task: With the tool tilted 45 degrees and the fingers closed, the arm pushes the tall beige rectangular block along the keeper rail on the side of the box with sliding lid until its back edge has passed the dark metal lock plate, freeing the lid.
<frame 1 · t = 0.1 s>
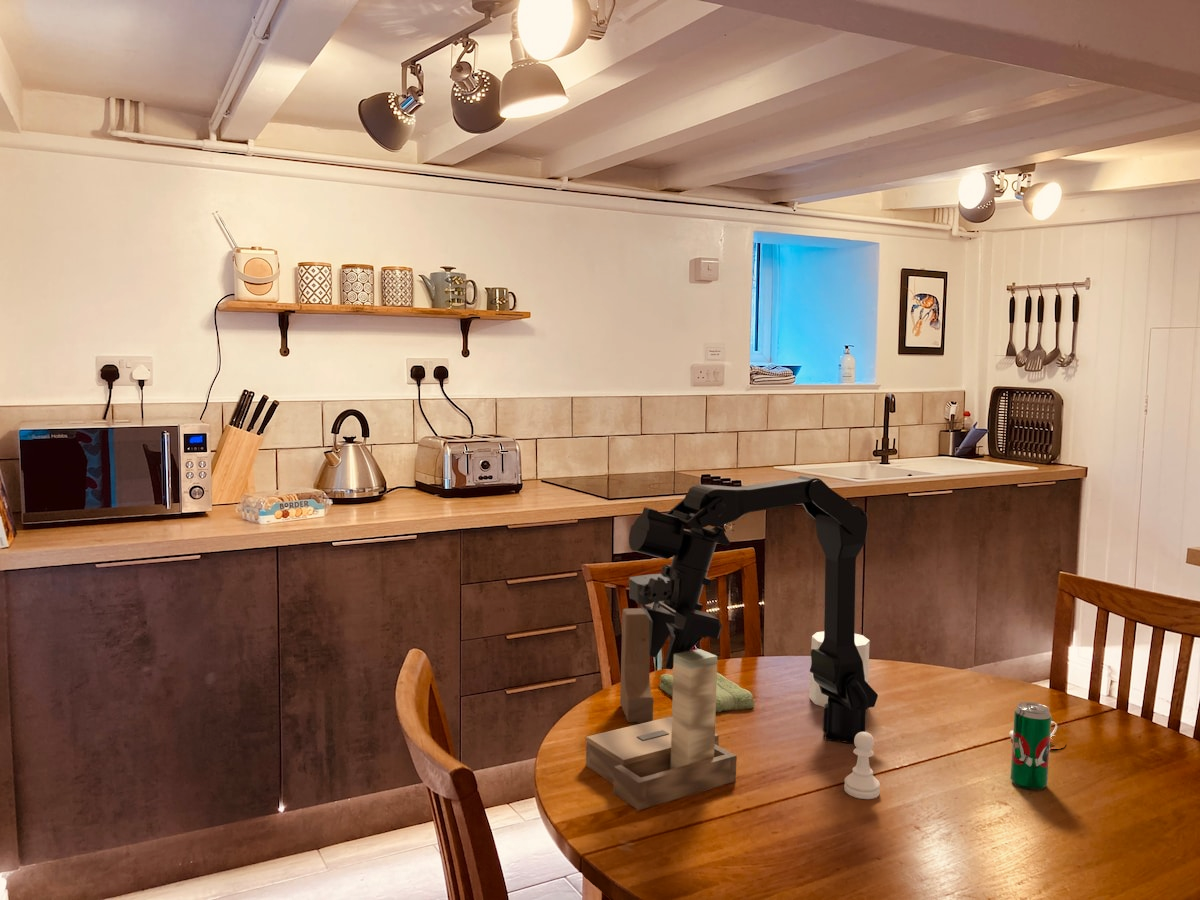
hand: (660, 662, 144), 16 cm above the table, tool tilted 15°, fingers open, 5 cm apart
wooden block: (636, 714, 167), on the table
tall beige rectangular block: (693, 716, 139), point 10 cm above the table, slide at 0.3 cm, touching gripper
soda can: (1028, 785, 141), on the table
teacup and saucer: (1022, 738, 161), on the table
box with sliding lid: (652, 764, 146), on the table
toilet paper: (837, 702, 175), on the table
washcloth: (704, 699, 176), on the table
chess pawn: (861, 793, 138), on the table
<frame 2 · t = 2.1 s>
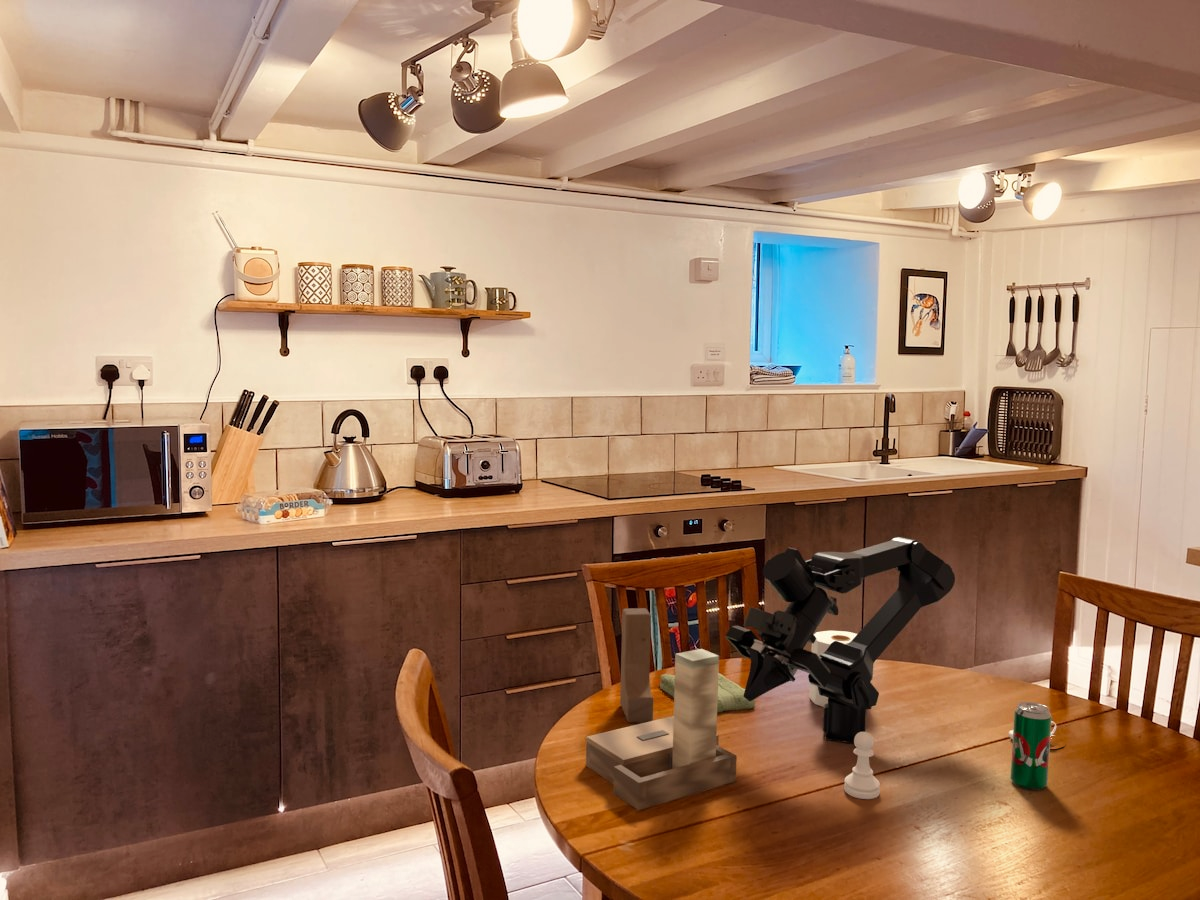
hand: (746, 699, 145), 11 cm above the table, tool tilted 45°, fingers closed
tall beige rectangular block: (695, 716, 140), point 10 cm above the table, slide at 0.0 cm
everything else where it was.
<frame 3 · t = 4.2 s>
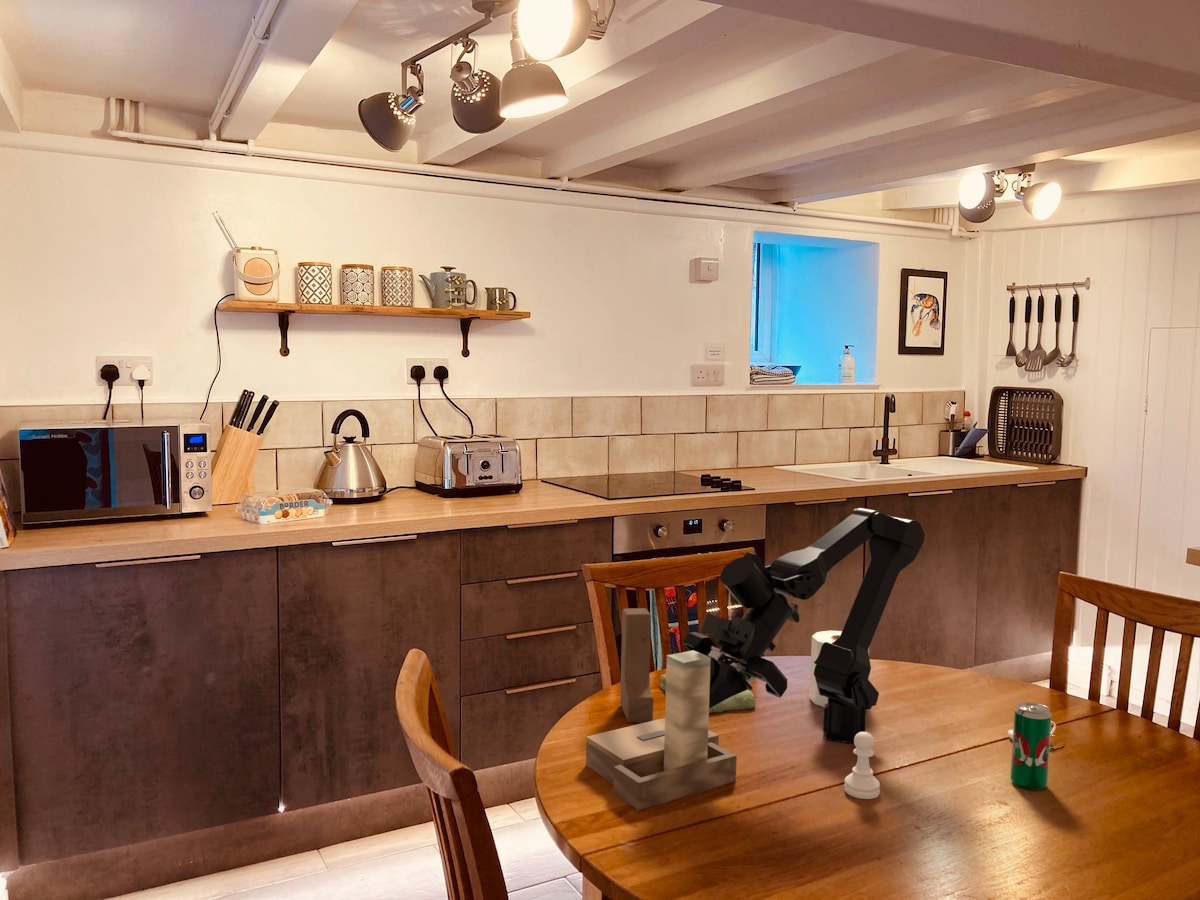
hand: (701, 708, 140), 11 cm above the table, tool tilted 45°, fingers closed, pressing on tall beige rectangular block
tall beige rectangular block: (686, 718, 139), point 10 cm above the table, slide at 1.6 cm, touching gripper
everything else where it was.
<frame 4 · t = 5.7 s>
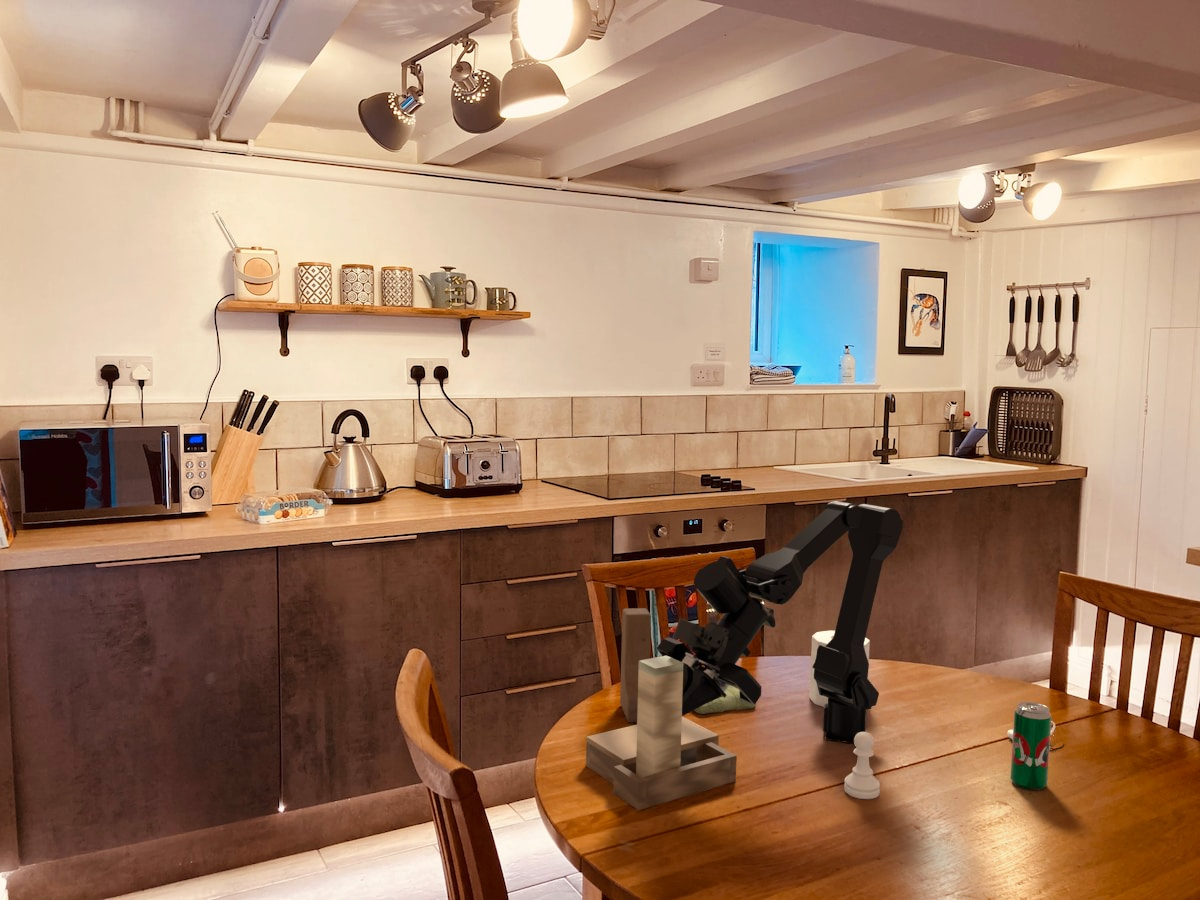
hand: (674, 716, 137), 11 cm above the table, tool tilted 45°, fingers closed, pressing on tall beige rectangular block
tall beige rectangular block: (659, 725, 136), point 10 cm above the table, slide at 6.7 cm, touching gripper
everything else where it was.
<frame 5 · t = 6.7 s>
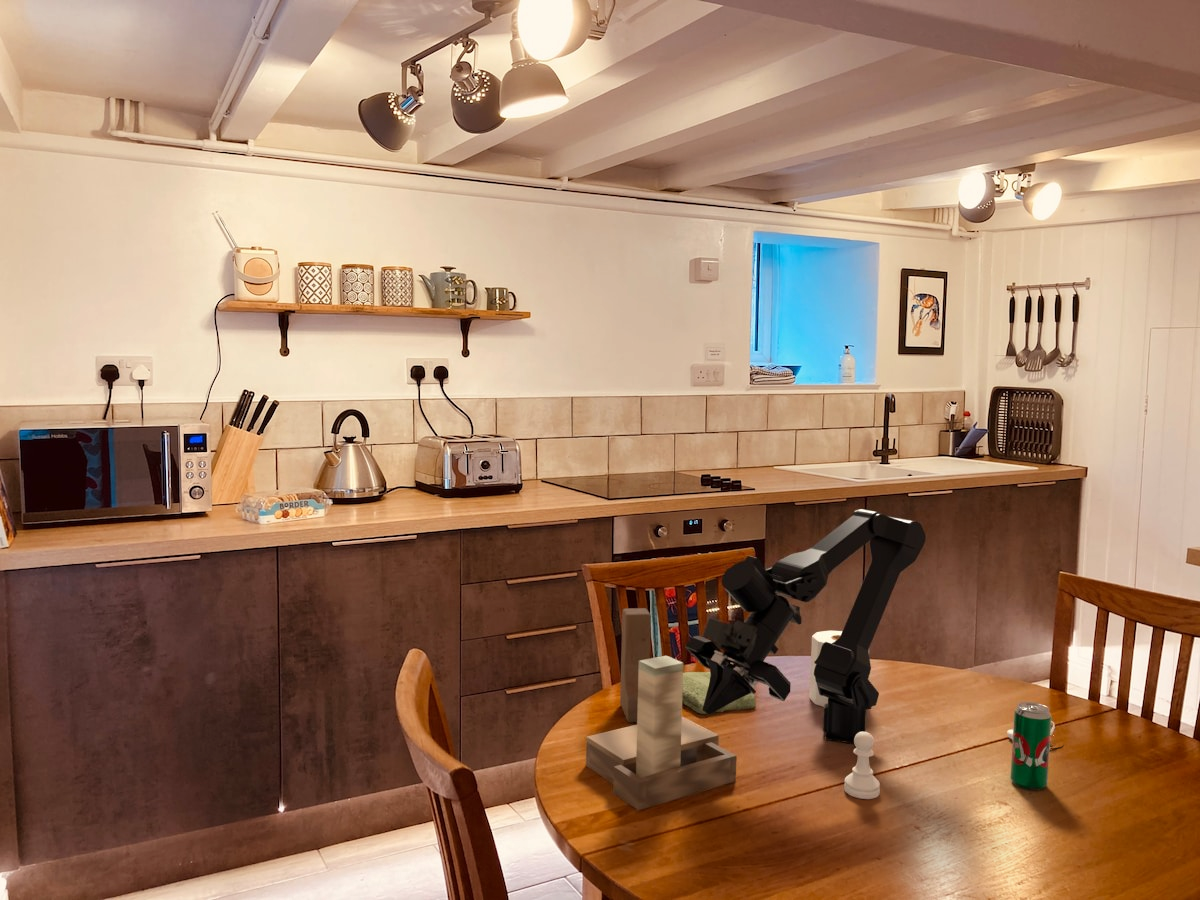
hand: (705, 712, 141), 10 cm above the table, tool tilted 45°, fingers closed
tall beige rectangular block: (659, 725, 136), point 10 cm above the table, slide at 6.7 cm
everything else where it was.
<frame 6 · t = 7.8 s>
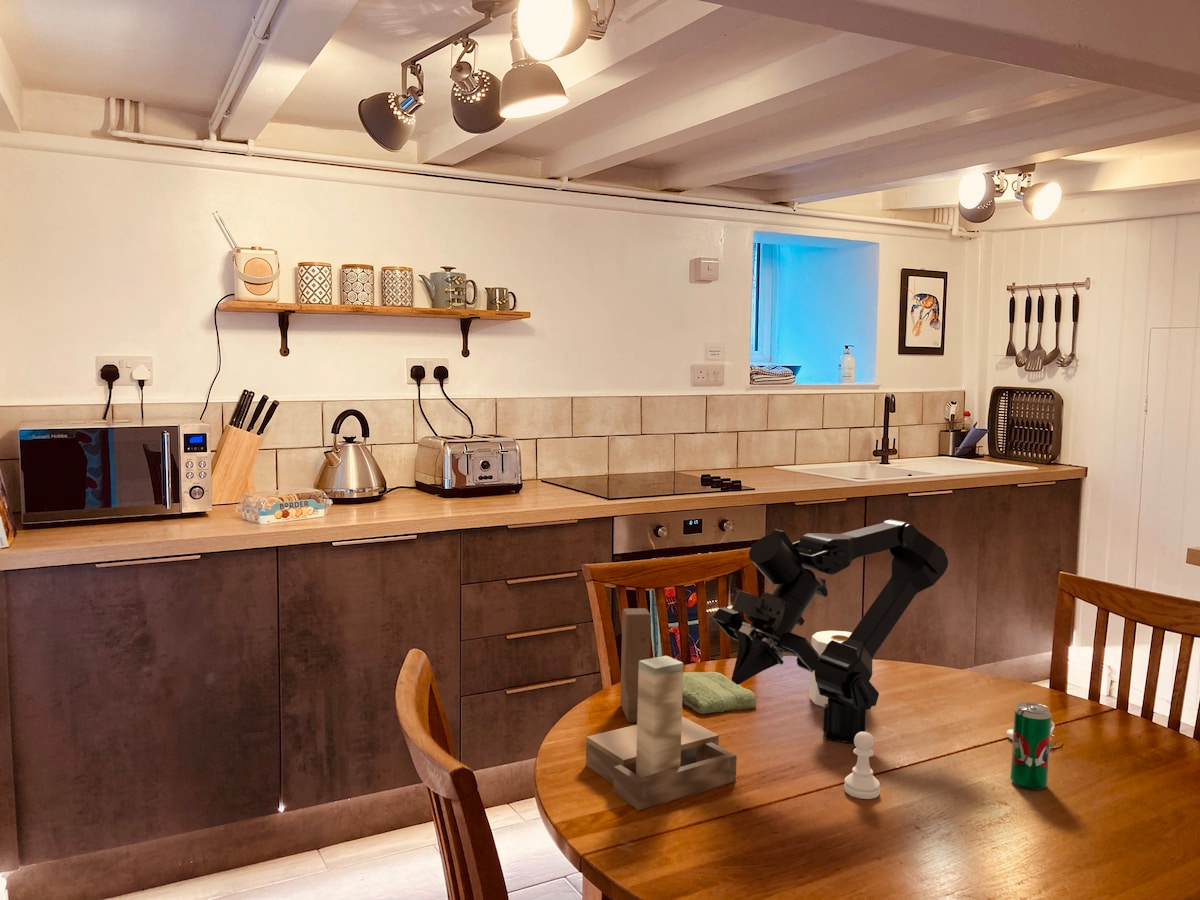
hand: (734, 682, 144), 13 cm above the table, tool tilted 45°, fingers closed
nothing on the table moved.
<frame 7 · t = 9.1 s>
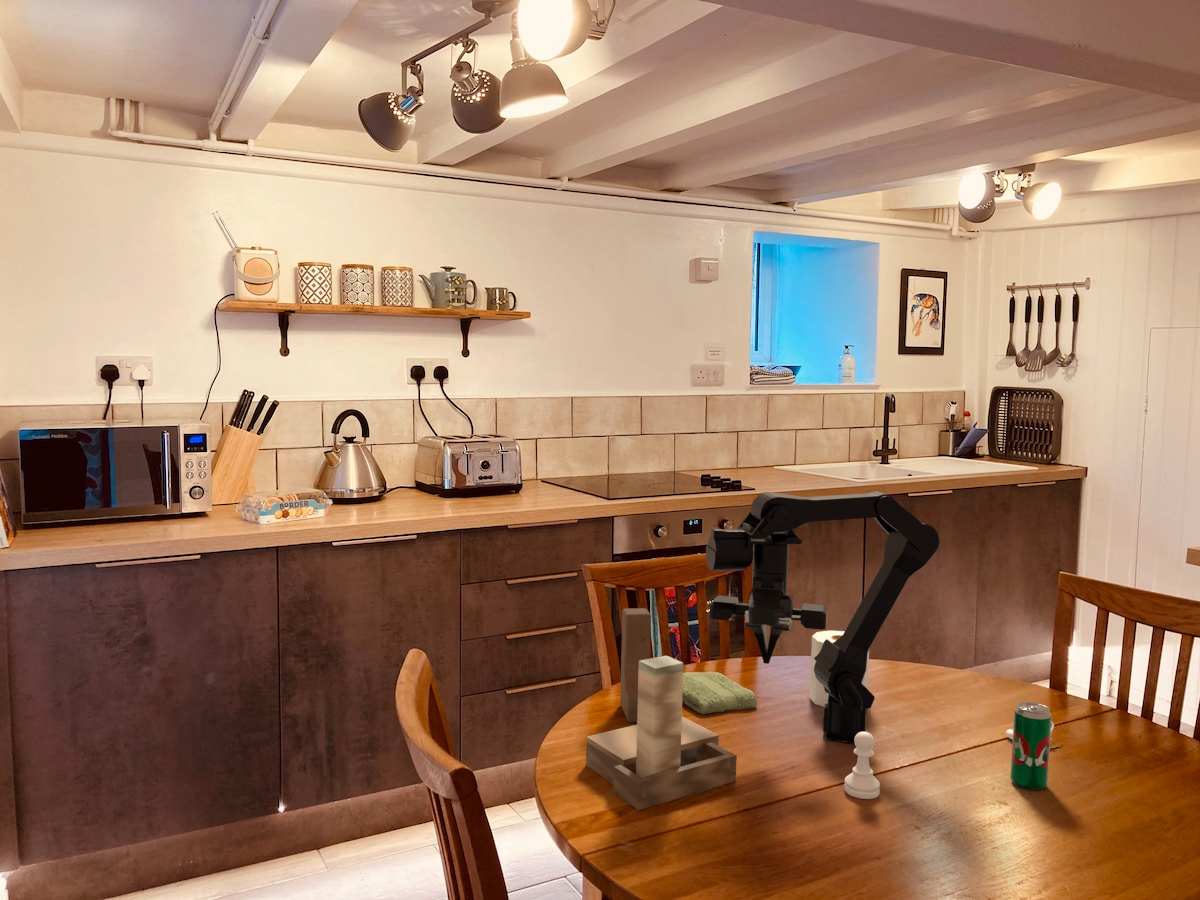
hand: (766, 663, 155), 13 cm above the table, tool pointing down, fingers closed
nothing on the table moved.
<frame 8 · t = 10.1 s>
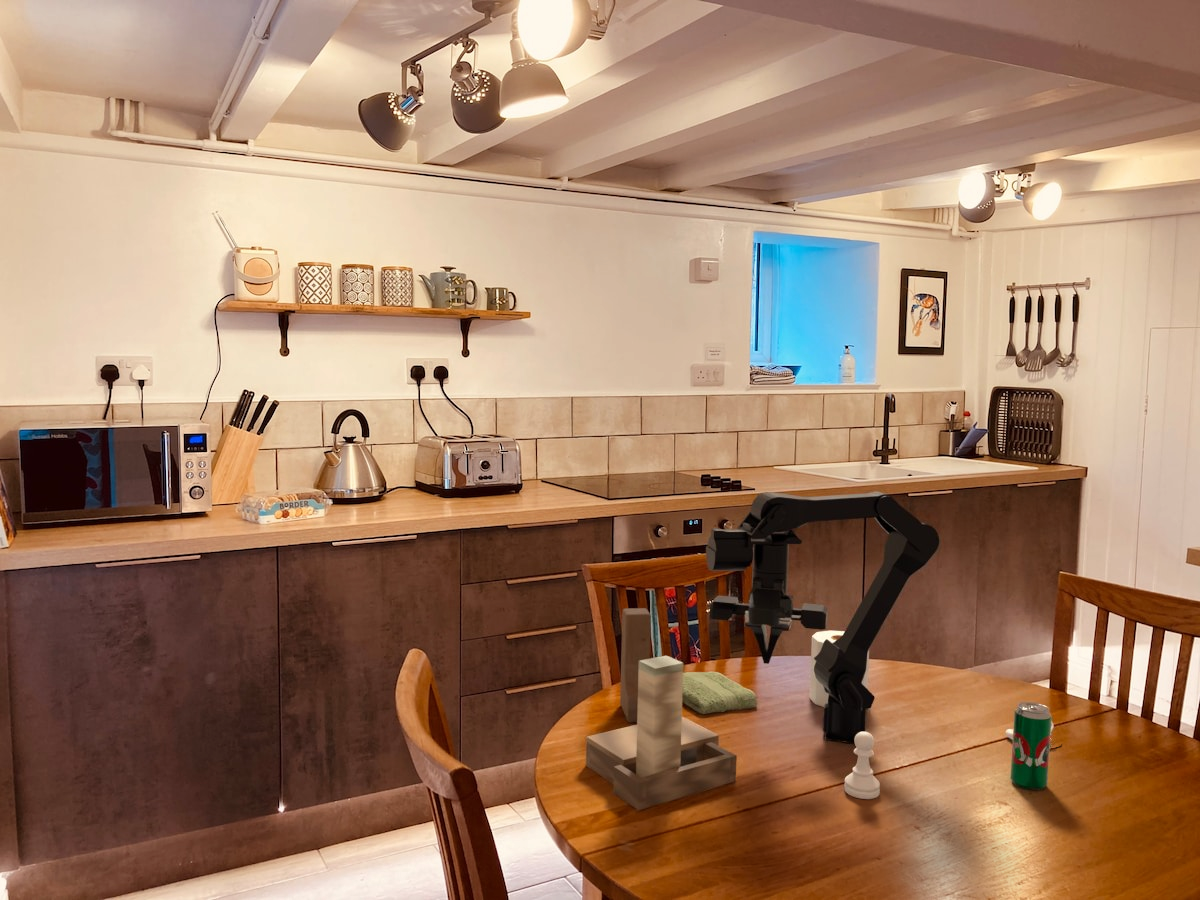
hand: (766, 663, 155), 13 cm above the table, tool pointing down, fingers closed
nothing on the table moved.
at the end: tall beige rectangular block slide at 6.7 cm; the gripper is holding nothing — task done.
